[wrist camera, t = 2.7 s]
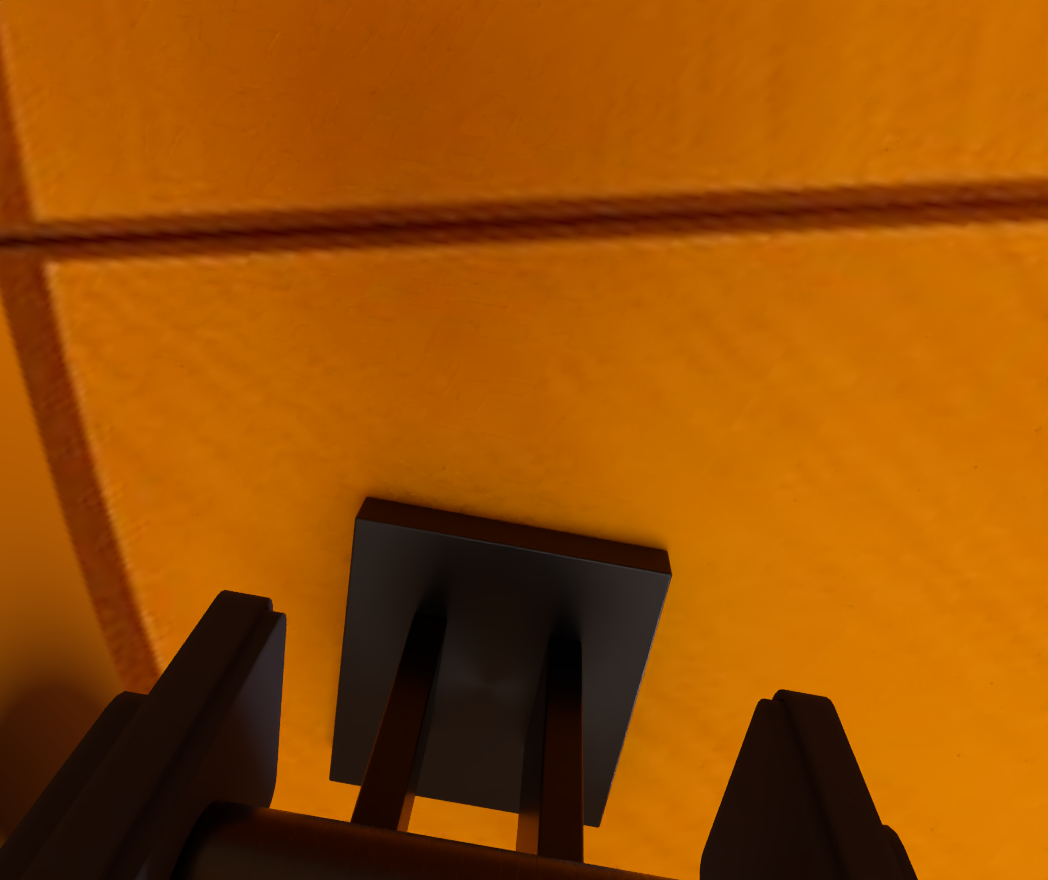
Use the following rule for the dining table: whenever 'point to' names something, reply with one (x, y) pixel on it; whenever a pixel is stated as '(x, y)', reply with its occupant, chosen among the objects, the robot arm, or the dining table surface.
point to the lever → (352, 852)
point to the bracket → (490, 668)
